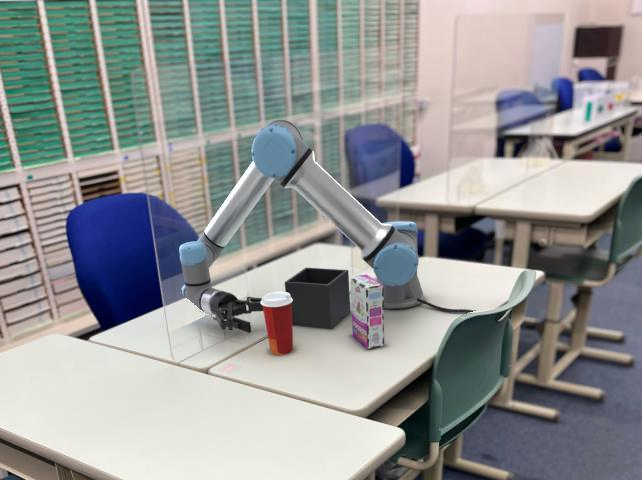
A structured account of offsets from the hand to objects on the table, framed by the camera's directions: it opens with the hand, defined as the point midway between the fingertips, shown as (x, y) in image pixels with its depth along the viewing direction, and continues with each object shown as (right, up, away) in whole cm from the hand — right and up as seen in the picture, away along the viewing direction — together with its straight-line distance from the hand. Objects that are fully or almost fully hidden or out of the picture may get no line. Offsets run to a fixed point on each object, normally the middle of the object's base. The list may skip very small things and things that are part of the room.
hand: (269, 319), depth 183 cm
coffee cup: (+3, -8, +2) cm, 9 cm away
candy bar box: (+26, -5, +2) cm, 27 cm away
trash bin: (+14, +4, +20) cm, 24 cm away
